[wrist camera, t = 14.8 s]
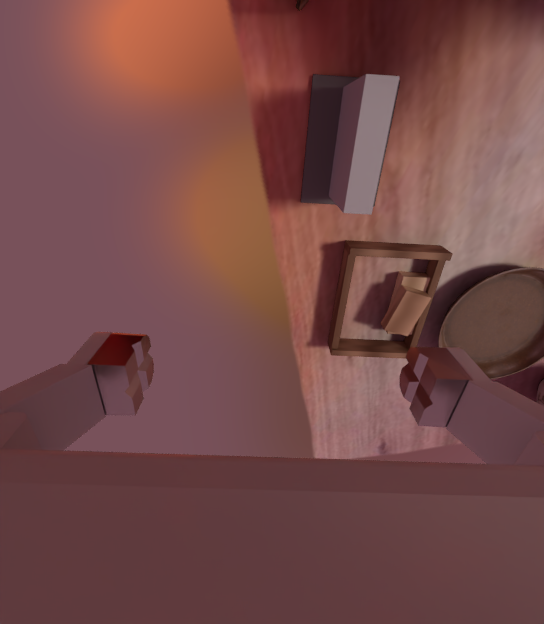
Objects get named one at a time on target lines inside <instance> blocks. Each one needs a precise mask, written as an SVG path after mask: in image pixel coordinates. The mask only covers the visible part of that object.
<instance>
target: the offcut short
mask: <svg viewBox="0 0 544 624" xmlns="http://www.w3.org/2000/svg"><path fill="white" fill-rule="evenodd" d="M430 300H431V297H430V296H429V295H428V294H427V293H426V292H424V291H421V290H417V289H414V288H411V287H407V286H404V285H402V286H401V287H400V289H399V291H398V293H397V295H396V296H395V298H394V300H393V302H392V304H391V305H390V307H389V309H388V311H387V312H386V314H385V316H384V318H383V320H382V321H381V325H382V327H383V328H384V330H386V331H390V332H393V333H397V334H401V335H404V336H408V335H409V333H410V332H411V330H412V329H413V327H414V325H415V324H416V322H417V321H418V319H419V317H420V316H421V314H422V313H423V311H424V309H425V308H426V306H427V305H428V303H429V301H430Z"/></svg>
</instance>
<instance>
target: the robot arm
mask: <svg viewBox="0 0 544 624" xmlns="http://www.w3.org/2000/svg"><path fill="white" fill-rule="evenodd" d="M150 347H151V344H150V339H149V337H148V336H147V335H145V334H129V333H112V332H95V333H93V334H92V336H91V337H90V338H89V339H88V340H87V341H86V342H85V343H84V344H83V346H82V347H81V348H80V349H79V350H78V351H77V352H76V354H75V355H74V356H73V357H72V358H71V359H70V361H69V362H68V363H67V364H59V365H57V366H55V367H53V368H51V369H48V370H46V371H44V372H42V373H40V374H37V375H35V376H33V377H31V378H29V379H27V380H24V381H22V382H20V383H18V384H16V385H13V386H11V387H9V388H7V389H5V390H3V391H0V624H544V406H542V405H540V404H538V403H537V402H535V401H533V400H531V399H529V398H527V397H525V396H523V395H521V394H519V393H518V392H516V391H514V390H512V389H510V388H508V387H506V386H504V385H502V384H500V383H499V382H494V381H491V380H490V379H489V378H488V377H487V375H486V374H485V373H484V372H483V371H482V370H481V369H480V368H479V367H478V365H477V364H476V363H475V362H474V361H473V360H472V359H471V358H470V356H469V355H468V354H467V353H466V352H465V351H464V350H463V349H461V348H458V347H443V348H438V347H410V349H409V350H408V352H407V355H406V359H407V361H408V364H407V365H406V366H404V367H403V368H402V370H401V374H400V389H401V392H402V394H403V397H404V398H405V399H407V400H408V401H409V402H411V406H410V410H411V412H412V414H413V416H414V418H415V420H416V422H417V424H418V426H433V427H447V428H446V429H447V430H448V431H450V432H451V433H452V434H453V435H454V436H455V437H456V438H458V439H459V440H460V441H461V442H462V443H463V444H465V445H466V446H467V447H468V448H469V449H470V450H471V451H473V452H474V453H475V454H476V455H477V456H478V457H479V458H481V459H482V460H483V461H484V462H485V463H486V464H472V463H439V462H408V461H380V460H350V459H319V458H284V457H252V456H220V455H189V454H158V453H157V454H155V453H126V452H92V451H63V450H64V449H66V448H67V447H68V446H69V445H71V444H72V443H73V442H74V441H76V440H77V439H78V438H80V437H81V436H82V435H83V434H84V433H86V432H87V431H88V430H90V429H91V428H92V427H93V426H95V425H96V424H97V423H98V422H100V421H101V420H102V419H103V418H105V415H136V414H137V411H138V409H139V407H140V405H141V403H142V401H143V399H144V397H143V391H145V390H146V389H148V388H149V386H150V384H151V382H152V377H153V373H154V363H153V358H152V357H151V356H150V355H149V354H148V351H149V349H150Z"/></svg>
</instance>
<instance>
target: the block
mask: <svg viewBox="0 0 544 624" xmlns="http://www.w3.org/2000/svg"><path fill="white" fill-rule="evenodd" d="M399 78H400V76H390V75H375V74H365V75H363V76H362V77H360V78H358V79H357V80H355V81H353V82H351V83H350V84H348V85H346V86H345V87H343V94H342V102H341V109H340V116H339V124H338V131H337V138H336V146H335V153H334V160H333V168H332V175H331V182H330V190H329V197H330V198H331V199H332V200H333V202H334V203H335V204H336V205H337V206H338V207H339V208H340V209H341V211H342V212H343V213H354V214H372V209H373V204H374V200H375V195H376V190H377V185H378V180H379V175H380V170H381V165H382V160H383V156H384V151H385V146H386V141H387V136H388V131H389V126H390V121H391V117H392V112H393V107H394V102H395V97H396V92H397V87H398V82H399Z"/></svg>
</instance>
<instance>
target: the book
mask: <svg viewBox="0 0 544 624" xmlns="http://www.w3.org/2000/svg"><path fill="white" fill-rule="evenodd" d="M307 2H308V0H297V4H296V8H297V9H298V11H300V10H301V9H302V8H303V7H304V6H305V4H306V3H307Z"/></svg>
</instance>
